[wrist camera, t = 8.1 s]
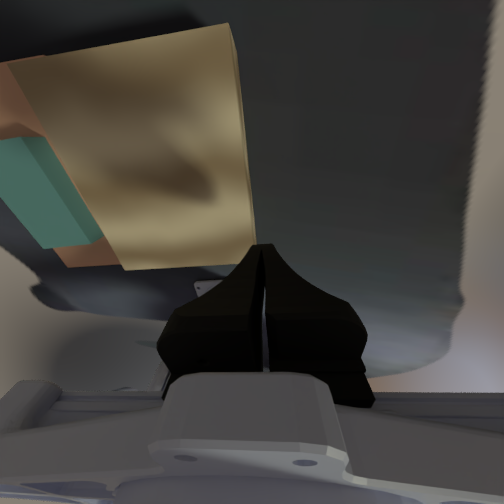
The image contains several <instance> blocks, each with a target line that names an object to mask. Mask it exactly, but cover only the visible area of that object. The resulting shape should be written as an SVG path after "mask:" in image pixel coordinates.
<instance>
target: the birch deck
mask: <svg viewBox="0 0 504 504" xmlns="http://www.w3.org/2000/svg"><path fill="white" fill-rule="evenodd" d="M7 65H8V67H9V69H10V71H11V72H12V74H13V76H14V78H15V79H16V81H17V83H18V85H19V86H20V88H21V90H22V92H23V93H24V95H25V97H26V99H27V100H28V102H29V104H30V106H31V107H32V109H33V111H34V113H35V114H36V116H37V118H38V120H39V121H40V123H41V125H42V127H43V128H44V130H45V132H46V134H47V135H48V137H49V139H50V141H51V142H52V144H53V146H54V148H55V149H56V151H57V153H58V155H59V156H60V158H61V160H62V162H63V163H64V165H65V167H66V168H67V170H68V172H69V174H70V175H71V177H72V179H73V181H74V182H75V184H76V186H77V188H78V189H79V191H80V193H81V195H82V196H83V198H84V200H85V202H86V203H87V205H88V207H89V209H90V210H91V212H92V214H93V216H94V217H95V219H96V221H97V223H98V224H99V226H100V228H101V230H102V231H103V233H104V235H105V237H106V238H107V240H108V242H109V244H110V245H111V247H112V249H113V251H114V252H115V254H116V256H117V258H118V259H119V261H120V263H121V265H122V266H123V268H124V270H142V269H158V268H175V267H191V266H208V265H224V264H239V263H240V262H241V260H242V259H243V257H244V256H245V255H246V253H247V252H248V250H249V248H250V247H251V246H252V245H257V242H256V233H255V223H254V213H253V204H252V194H251V184H250V175H249V165H248V155H247V146H246V136H245V127H244V117H243V107H242V98H241V88H240V78H239V69H238V59H237V51H236V48H235V44H234V41H233V37H232V34H231V30H230V27H229V23H225V24H219V25H214V26H208V27H203V28H197V29H192V30H187V31H181V32H176V33H170V34H165V35H159V36H154V37H149V38H143V39H138V40H132V41H127V42H121V43H116V44H110V45H105V46H100V47H94V48H89V49H83V50H78V51H72V52H67V53H61V54H56V55H51V56H45V57H40V58H34V59H29V60H23V61H18V62H12V63H7Z"/></svg>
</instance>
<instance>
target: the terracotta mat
mask: <svg viewBox="0 0 504 504" xmlns="http://www.w3.org/2000/svg"><path fill="white" fill-rule="evenodd" d="M40 57H45V55H39V56H34V57H29V58H23V59H18V60H12V61H7V62H1V63H0V140H5V139H10V138H16V137H45V138H46V140H47V141H48V143H49V145H50V146H51V148H52V150H53V151H54V153H55V155H56V156H57V158H58V159H59V161H60V163H61V164H62V166H63V168H64V169H65V171H66V173H67V174H68V176H69V178H70V179H71V181H72V183H73V184H74V186H75V188H76V189H77V191H78V193H79V194H80V196H81V198H82V199H83V201H84V203H85V204H86V206H87V208H88V209H89V207H88V205H87V203H86V202H85V200H84V198H83V196H82V195H81V193H80V191H79V189H78V188H77V186H76V184H75V182H74V181H73V179H72V177H71V175H70V174H69V172H68V170H67V168H66V167H65V165H64V163H63V162H62V160H61V158H60V156H59V155H58V153H57V151H56V149H55V148H54V146H53V144H52V142H51V141H50V139H49V137H48V135H47V134H46V132H45V130H44V128H43V127H42V125H41V123H40V121H39V120H38V118H37V116H36V114H35V113H34V111H33V109H32V107H31V106H30V104H29V102H28V100H27V99H26V97H25V95H24V93H23V92H22V90H21V88H20V86H19V85H18V83H17V81H16V79H15V78H14V76H13V74H12V72H11V71H10V69H9V67H8V65H7V63H12V62H18V61H23V60H29V59H34V58H40ZM89 211H90V212H91V210H90V209H89ZM91 214H92V212H91ZM92 216H93V214H92ZM93 217H94V216H93ZM94 219H95V217H94ZM95 221H96V219H95ZM96 222H97V221H96ZM97 224H98V223H97ZM98 226H99V224H98ZM99 227H100V226H99ZM100 229H101V228H100ZM101 231H102V230H101ZM102 232H103V231H102ZM103 234H104V233H103ZM53 249H54V250H55V252H56V253H57V254H58V256H59V257H60V258H61V260H62V261H63V262H64V264H65V265H66V266H67V267H68V268H70V267H85V266H101V265H116V264H121V263H120V261H119V259H118V258H117V256H116V254H115V252H114V251H113V249H112V247H111V245H110V244H109V242H108V240H107V238H106V237H105V235H104V236H103V237H102V238H100V239H99V240H97V241H95V242H94V243H92V244H86V245H76V246H67V247H57V248H53Z"/></svg>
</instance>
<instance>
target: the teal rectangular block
mask: <svg viewBox="0 0 504 504" xmlns="http://www.w3.org/2000/svg"><path fill="white" fill-rule="evenodd" d="M0 197H1V198H2V200H3V201H4V202H5V203H6V204H7V206H8V207H9V208H10V209H11V210H12V212H13V213H14V214H15V215H16V216H17V218H18V219H19V220H20V221H21V223H22V224H23V225H24V226H25V227H26V229H27V230H28V231H29V232H30V233H31V235H32V236H33V237H34V238H35V239H36V241H37V242H38V243H39V244H40V245H41V247H42V248H43V249H48V248H57V247H67V246H76V245H86V244H92V243H94V242H95V241H97V240H99V239H100V238H102V237H103V236H104V234H103V232H102V231H101V229H100V227H99V226H98V224H97V222H96V221H95V219H94V217H93V216H92V214H91V212H90V211H89V209H88V208H87V206H86V204H85V203H84V201H83V199H82V198H81V196H80V194H79V193H78V191H77V189H76V188H75V186H74V184H73V183H72V181H71V179H70V178H69V176H68V174H67V173H66V171H65V169H64V168H63V166H62V164H61V163H60V161H59V159H58V158H57V156H56V155H55V153H54V151H53V150H52V148H51V146H50V145H49V143H48V141H47V140H46V138H45V137H16V138H10V139H5V140H0Z"/></svg>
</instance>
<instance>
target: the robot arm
mask: <svg viewBox="0 0 504 504" xmlns="http://www.w3.org/2000/svg"><path fill="white" fill-rule="evenodd" d="M194 287H195V290H196V293H197V295H198V298H196V299H194V300H193V301H191V302H189V303H187V304H185V305H183V306H181V307H179V308H177V309H175V310H174V312H173V313H172V315H171V316H170V318H169V320H168V322H167V324H166V326H165V328H164V330H163V332H162V334H161V336H160V338H159V340H158V341H157V351H158V353H159V355H160V357H161V359H162V360H163V361H162V362H161V363H160V364H159V366H158V368H157V370H156V372H155V374H154V376H153V378H152V380H151V382H150V384H149V386H148V389H147V391H62V389H61V388H60V387H59V386H58V385H56V384H55V383H53V382H49V381H44V380H26V381H25V380H23V381H19V382H17V383H16V384H15V385H14V386H13V387H12V388H11V389H10V391H8V392H7V393H6V394H5V395H4V396H3V397H2V398H1V400H0V497H4V498H17V499H29V500H41V501H51V502H61V503H71V504H504V393H416V392H415V393H414V392H408V393H406V392H399V393H398V392H372V390H371V387H370V385H369V383H368V381H367V378H366V376H365V374H364V373H365V372H366V368H365V366H364V363H363V361H362V359H361V356H362V353H363V351H364V348H365V345H366V342H367V336H368V334H367V331H366V328H365V327H364V325H363V323H362V321H361V319H360V318H359V316H358V315H357V313H356V312H355V311H354V309H353V308H352V307H351V305H350V304H349V303H348V302H346V301H344V300H342V299H339V298H337V297H335V296H332V295H330V294H328V293H326V292H324V291H322V290H321V289H319V288H317V287H315V286H314V285H312V284H310V283H309V282H307V281H306V280H304V279H303V278H302V277H300V276H299V275H298V274H297V273H296V272H295V271H293V270H292V269H291V268H290V267H289V266H288V264H287V263H286V262H285V261H284V260H283V259H282V257H281V256H280V255H279V253H278V252H277V250H276V249H275V247H274V245H273V244H258V245H252V246H251V247H250V248H249V250H248V252H247V253H246V255H245V256H244V257H243V259H242V260H241V262H240V263H239V264H238V265H237V266H236V268H235V269H234V270H233V271H232V272H231V273H230V274H229V275H228V276H227V277H226V278H225V279H224V280H208V281H196V282H195V283H194ZM198 287H200V288H198ZM264 288H265V290H266V301H265V316H266V327H267V337H268V347H269V367H270V372H263V345H262V312H263V300H264Z"/></svg>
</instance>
